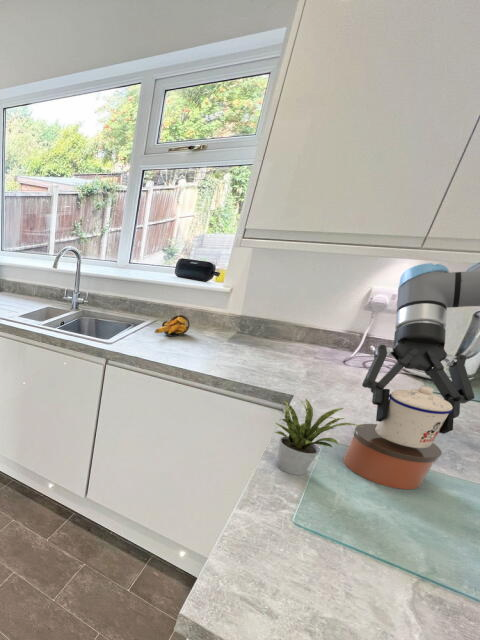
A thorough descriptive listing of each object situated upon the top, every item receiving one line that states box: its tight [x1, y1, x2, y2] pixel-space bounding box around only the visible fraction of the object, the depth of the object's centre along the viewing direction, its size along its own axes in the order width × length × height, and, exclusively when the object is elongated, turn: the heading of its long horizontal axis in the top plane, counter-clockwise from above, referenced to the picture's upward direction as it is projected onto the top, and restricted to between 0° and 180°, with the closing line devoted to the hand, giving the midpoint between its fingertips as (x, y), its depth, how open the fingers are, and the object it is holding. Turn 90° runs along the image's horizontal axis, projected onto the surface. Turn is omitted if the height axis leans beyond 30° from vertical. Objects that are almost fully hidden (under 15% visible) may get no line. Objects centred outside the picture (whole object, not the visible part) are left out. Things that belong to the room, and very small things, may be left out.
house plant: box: [273, 398, 363, 476], centre depth 90 cm, size 14×14×16 cm
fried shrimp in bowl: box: [154, 314, 191, 337], centre depth 178 cm, size 9×11×18 cm
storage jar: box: [342, 423, 442, 490], centre depth 91 cm, size 14×14×8 cm
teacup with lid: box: [375, 386, 453, 448], centre depth 86 cm, size 12×9×12 cm
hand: (412, 425), depth 84 cm, fingers closed on teacup with lid, 9 cm apart
